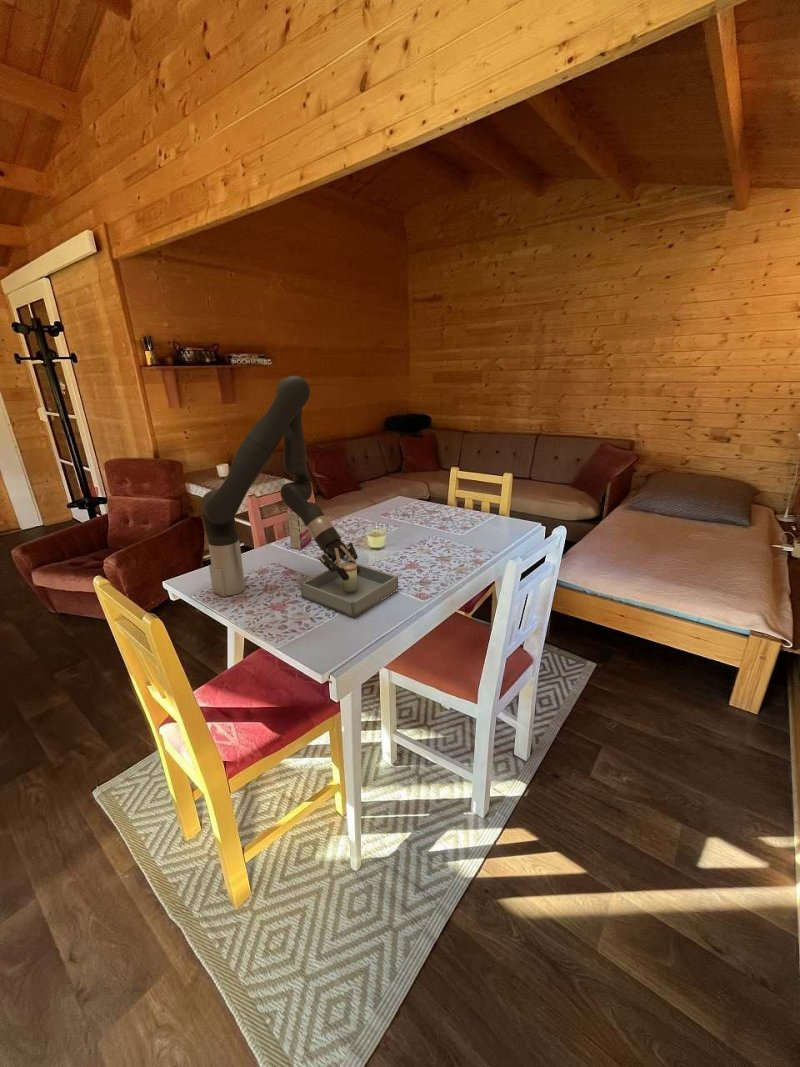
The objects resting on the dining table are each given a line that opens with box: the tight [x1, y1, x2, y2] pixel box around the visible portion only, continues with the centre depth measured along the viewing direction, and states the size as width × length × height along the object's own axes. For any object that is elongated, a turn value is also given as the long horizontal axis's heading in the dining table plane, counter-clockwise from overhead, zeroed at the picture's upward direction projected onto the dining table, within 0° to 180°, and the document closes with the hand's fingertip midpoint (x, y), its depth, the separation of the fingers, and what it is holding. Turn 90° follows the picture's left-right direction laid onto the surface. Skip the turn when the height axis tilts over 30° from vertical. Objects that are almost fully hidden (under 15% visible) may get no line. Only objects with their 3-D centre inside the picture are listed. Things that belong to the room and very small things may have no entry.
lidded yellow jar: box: [342, 562, 358, 592], centre depth 143 cm, size 5×5×8 cm
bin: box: [300, 561, 399, 619], centre depth 144 cm, size 22×22×5 cm
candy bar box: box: [286, 508, 313, 550], centre depth 184 cm, size 11×5×16 cm, turn 168°
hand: (352, 576), depth 142 cm, fingers closed on lidded yellow jar, 4 cm apart
